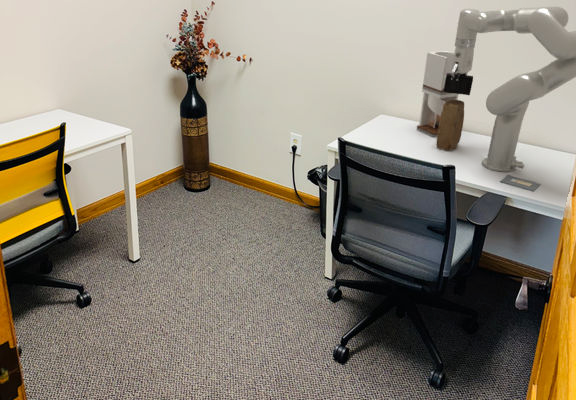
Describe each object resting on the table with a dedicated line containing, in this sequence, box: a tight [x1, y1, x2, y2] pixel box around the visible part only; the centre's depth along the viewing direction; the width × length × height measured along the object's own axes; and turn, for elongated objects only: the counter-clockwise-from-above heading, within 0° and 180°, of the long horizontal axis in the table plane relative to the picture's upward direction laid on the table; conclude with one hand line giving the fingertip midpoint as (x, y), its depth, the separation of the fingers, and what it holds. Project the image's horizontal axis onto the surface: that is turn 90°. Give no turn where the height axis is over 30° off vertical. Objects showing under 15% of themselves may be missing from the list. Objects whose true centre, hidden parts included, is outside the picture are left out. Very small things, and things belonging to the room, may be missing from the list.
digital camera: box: [443, 73, 474, 96], centre depth 219 cm, size 10×5×7 cm, turn 74°
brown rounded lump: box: [435, 99, 465, 151], centre depth 227 cm, size 11×8×20 cm
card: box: [499, 174, 542, 192], centre depth 199 cm, size 12×8×1 cm, turn 51°
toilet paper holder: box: [416, 50, 459, 138], centre depth 240 cm, size 11×11×35 cm
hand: (457, 88), depth 220 cm, fingers closed on digital camera, 6 cm apart
